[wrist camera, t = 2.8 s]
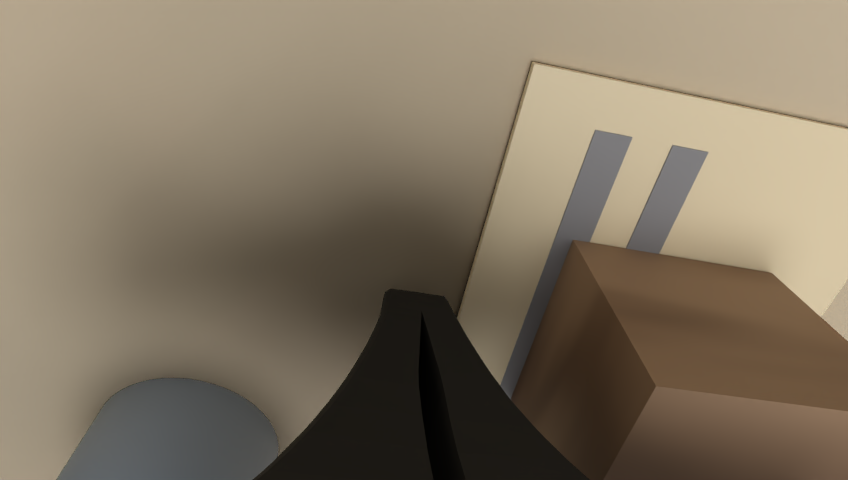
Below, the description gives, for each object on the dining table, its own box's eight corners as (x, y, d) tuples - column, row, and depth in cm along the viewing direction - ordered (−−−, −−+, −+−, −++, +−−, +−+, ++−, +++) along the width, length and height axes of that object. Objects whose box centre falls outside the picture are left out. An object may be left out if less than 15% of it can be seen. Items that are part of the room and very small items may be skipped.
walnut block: (680, 419, 15) (779, 589, 11) (510, 398, 14) (551, 570, 10) (771, 272, 13) (937, 422, 9) (573, 240, 12) (656, 386, 8)
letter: (687, 495, 17) (690, 502, 17) (413, 467, 16) (413, 474, 16) (931, 145, 11) (941, 149, 11) (532, 61, 10) (535, 64, 10)
